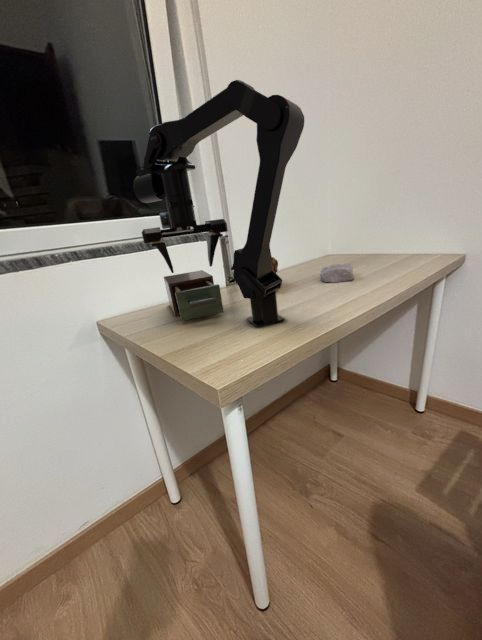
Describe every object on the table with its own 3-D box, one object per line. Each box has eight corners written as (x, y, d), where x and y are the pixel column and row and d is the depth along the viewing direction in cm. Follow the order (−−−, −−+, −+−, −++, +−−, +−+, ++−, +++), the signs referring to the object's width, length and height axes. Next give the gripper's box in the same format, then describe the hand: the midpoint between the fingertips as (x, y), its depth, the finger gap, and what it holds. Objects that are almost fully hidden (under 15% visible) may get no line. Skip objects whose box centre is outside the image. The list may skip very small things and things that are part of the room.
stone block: (322, 288, 96) (355, 279, 93) (319, 273, 94) (352, 264, 91) (322, 282, 106) (351, 273, 103) (318, 268, 105) (349, 259, 102)
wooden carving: (282, 292, 91) (280, 257, 87) (267, 293, 91) (264, 259, 87) (277, 281, 106) (275, 251, 102) (264, 283, 106) (261, 253, 102)
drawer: (228, 316, 71) (224, 287, 69) (184, 326, 69) (178, 296, 66) (212, 302, 86) (208, 277, 84) (175, 309, 84) (169, 284, 81)
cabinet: (217, 307, 84) (212, 275, 80) (175, 316, 81) (168, 283, 77) (207, 298, 96) (202, 270, 92) (169, 305, 93) (163, 276, 89)
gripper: (211, 196, 76) (221, 260, 82) (134, 204, 72) (150, 272, 78) (223, 190, 66) (232, 264, 73) (134, 200, 62) (152, 278, 68)
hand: (192, 269), depth 73 cm, fingers open, 9 cm apart
